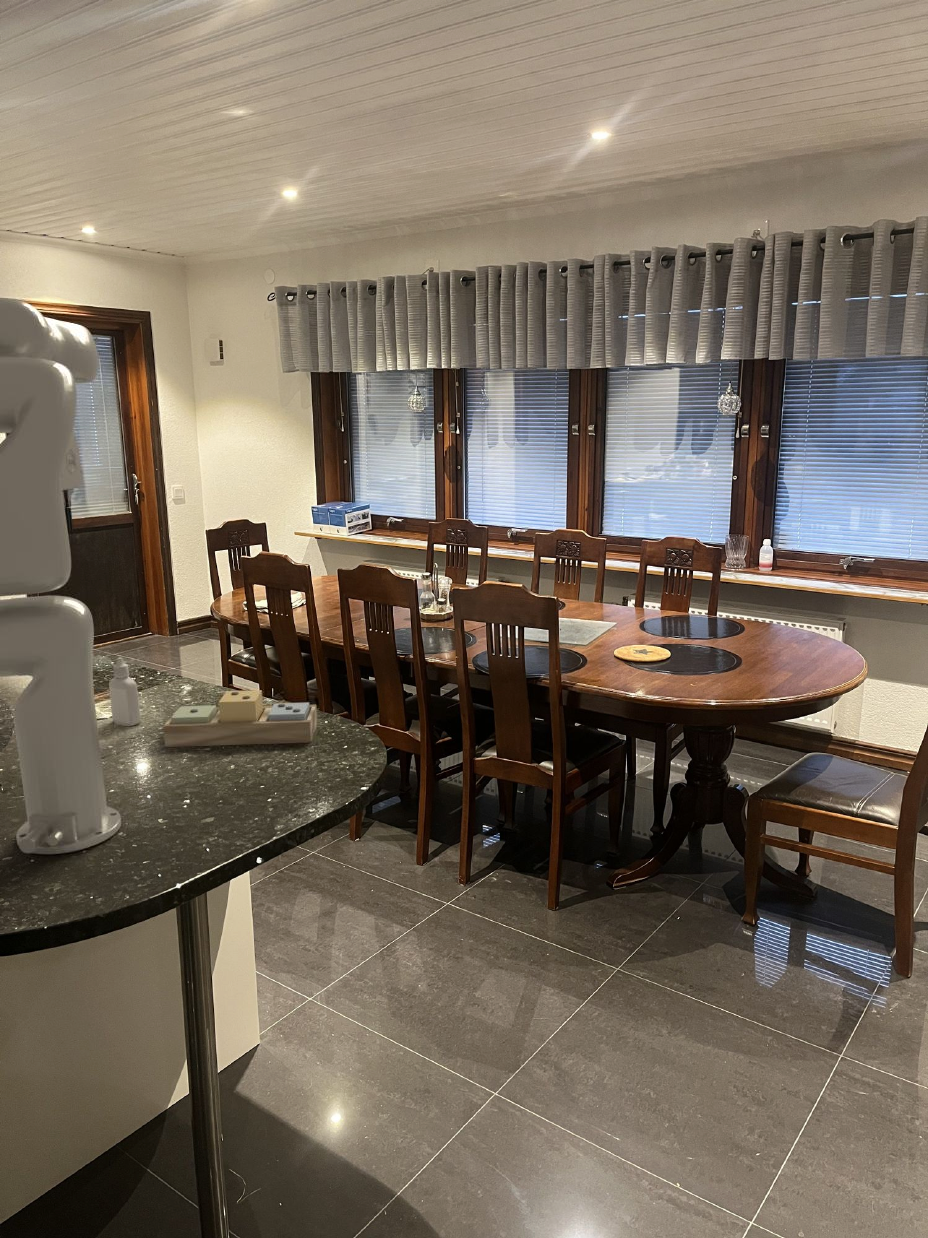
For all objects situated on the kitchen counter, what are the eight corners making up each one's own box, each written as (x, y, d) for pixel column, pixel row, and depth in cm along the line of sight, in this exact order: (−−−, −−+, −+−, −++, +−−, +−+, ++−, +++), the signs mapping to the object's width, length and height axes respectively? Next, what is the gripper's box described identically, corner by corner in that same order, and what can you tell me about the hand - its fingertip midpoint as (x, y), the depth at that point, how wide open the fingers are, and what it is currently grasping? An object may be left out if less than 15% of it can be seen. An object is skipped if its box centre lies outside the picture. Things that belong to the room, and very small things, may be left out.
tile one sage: (209, 737, 149) (207, 715, 148) (173, 738, 149) (171, 716, 148) (217, 725, 155) (216, 704, 154) (183, 726, 155) (180, 705, 154)
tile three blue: (305, 734, 149) (304, 712, 149) (269, 735, 149) (268, 713, 148) (310, 722, 155) (309, 701, 154) (275, 723, 155) (274, 702, 154)
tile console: (310, 742, 148) (309, 721, 147) (165, 747, 147) (163, 726, 147) (317, 724, 157) (316, 704, 156) (179, 728, 156) (178, 708, 155)
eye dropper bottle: (115, 729, 156) (108, 663, 154) (112, 720, 161) (104, 656, 158) (141, 725, 158) (135, 660, 156) (137, 716, 163) (130, 652, 160)
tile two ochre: (256, 722, 149) (255, 699, 148) (220, 723, 148) (218, 701, 148) (263, 710, 154) (261, 689, 154) (228, 711, 154) (226, 690, 153)
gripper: (52, 417, 135) (67, 538, 139) (89, 417, 149) (101, 526, 153) (2, 418, 134) (18, 539, 138) (44, 418, 149) (57, 527, 153)
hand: (61, 532), depth 146 cm, fingers closed
